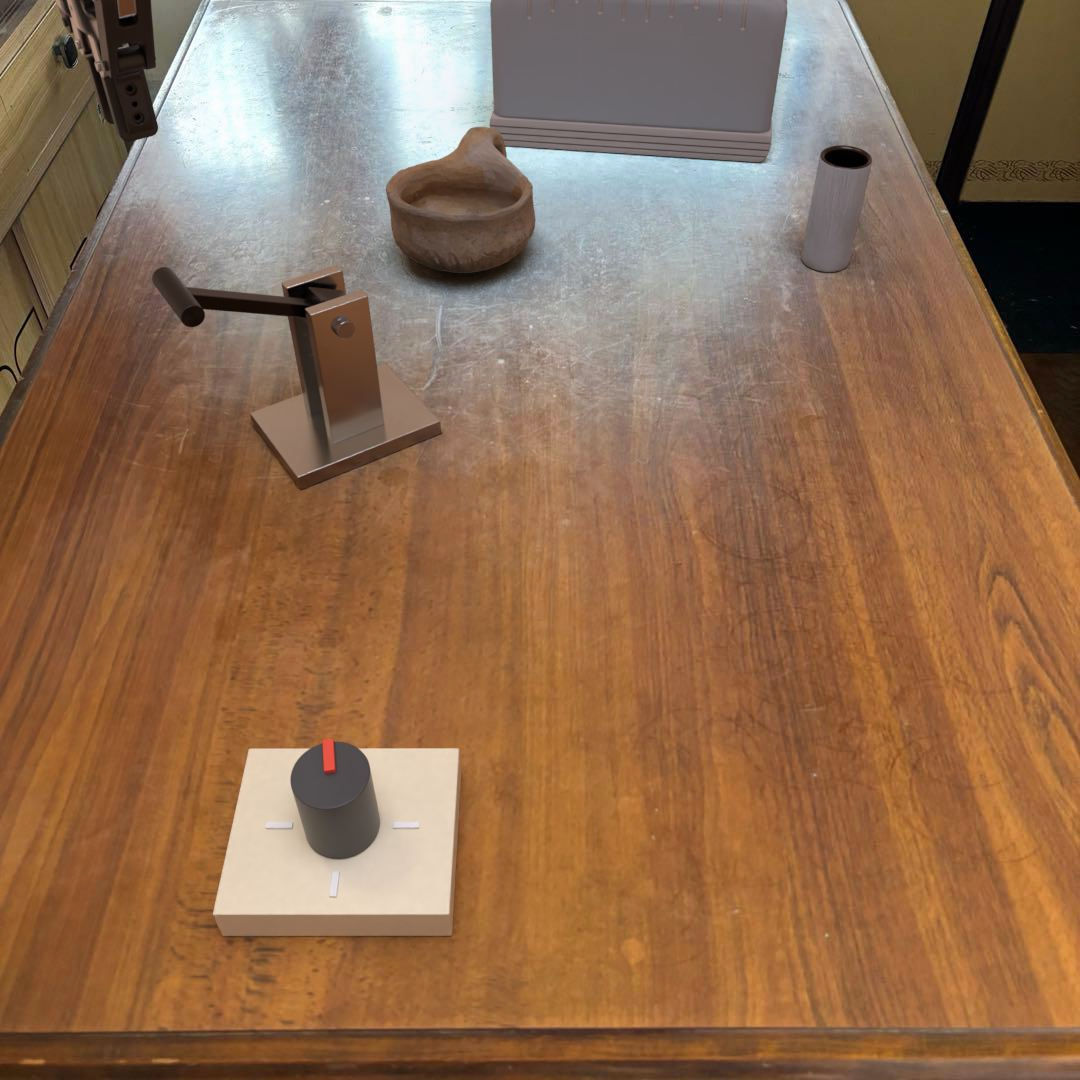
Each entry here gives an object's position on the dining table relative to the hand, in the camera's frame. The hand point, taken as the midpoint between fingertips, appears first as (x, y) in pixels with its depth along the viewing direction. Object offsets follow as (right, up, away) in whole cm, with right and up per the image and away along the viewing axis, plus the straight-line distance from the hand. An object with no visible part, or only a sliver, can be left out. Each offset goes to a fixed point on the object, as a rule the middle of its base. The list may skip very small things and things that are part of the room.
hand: (131, 126), depth 64 cm
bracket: (+8, -15, +23) cm, 29 cm away
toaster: (+36, +30, +68) cm, 83 cm away
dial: (+13, -39, -4) cm, 42 cm away
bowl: (+16, +4, +43) cm, 46 cm away
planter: (+50, +2, +41) cm, 65 cm away
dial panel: (+13, -41, -3) cm, 43 cm away
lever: (+4, -9, +12) cm, 16 cm away
